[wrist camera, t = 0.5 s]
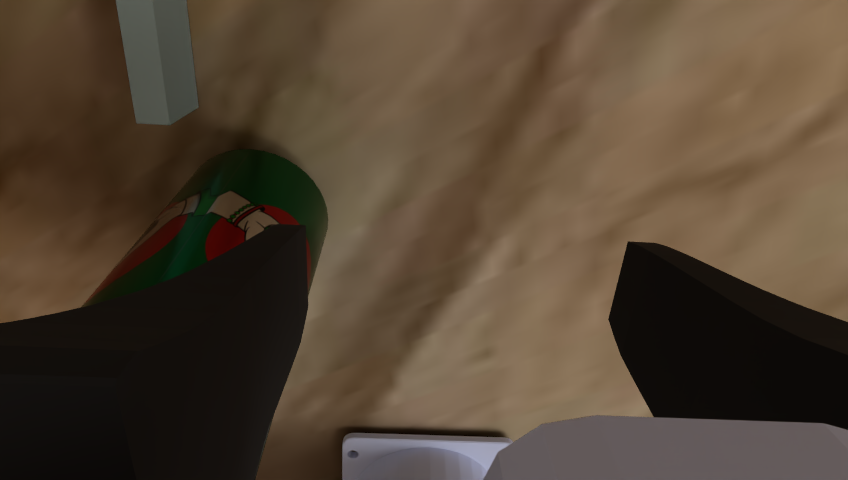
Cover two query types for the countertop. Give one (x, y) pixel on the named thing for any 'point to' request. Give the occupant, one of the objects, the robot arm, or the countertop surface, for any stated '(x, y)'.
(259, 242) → the robot arm
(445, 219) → the countertop surface
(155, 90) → the corral
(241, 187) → the soda can
